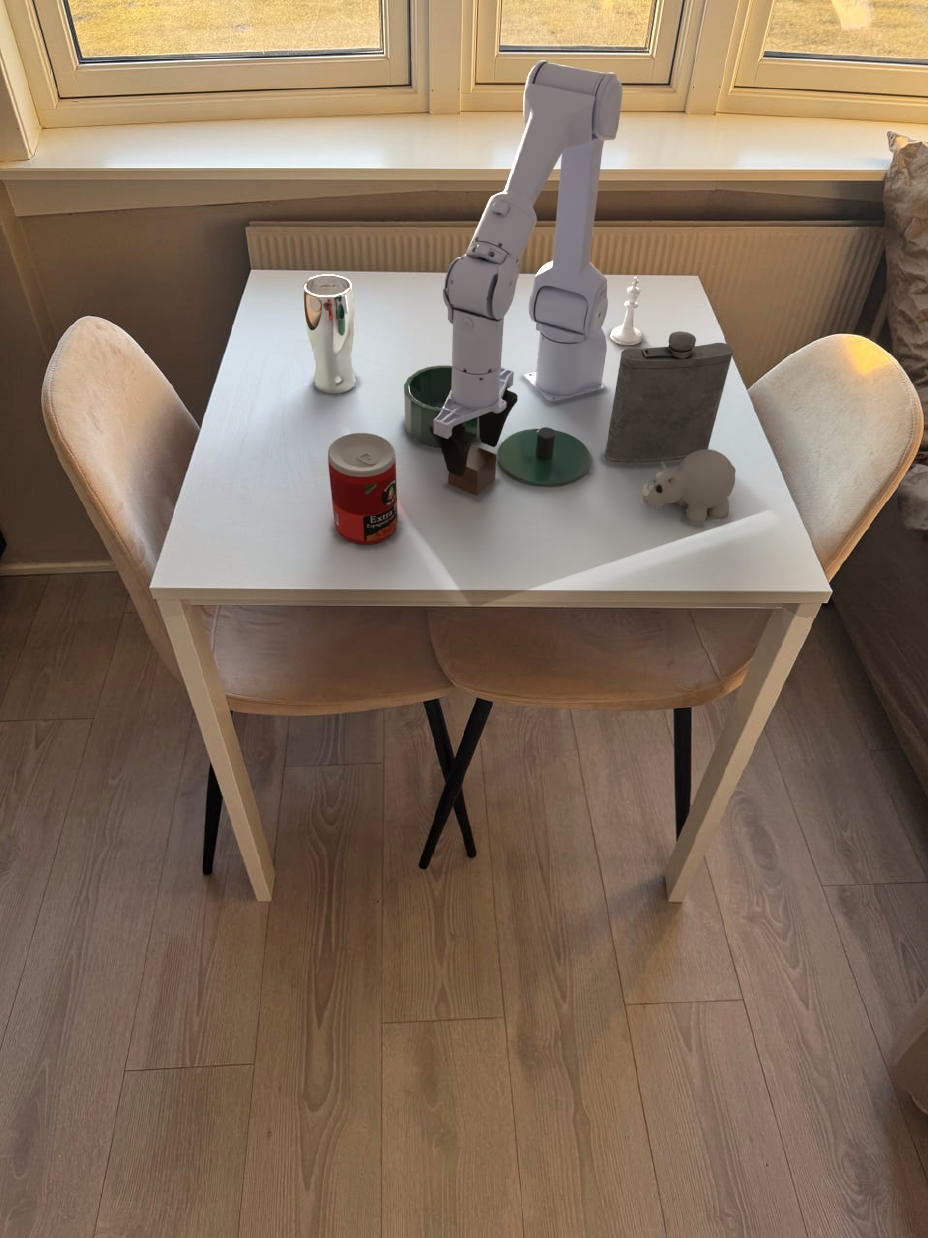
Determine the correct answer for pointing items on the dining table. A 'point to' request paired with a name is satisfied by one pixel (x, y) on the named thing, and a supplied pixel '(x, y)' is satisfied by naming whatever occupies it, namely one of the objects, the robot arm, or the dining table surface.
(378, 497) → the canned food
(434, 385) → the pot
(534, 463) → the lid
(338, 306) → the beer glass
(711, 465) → the toy rhinoceros
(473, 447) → the block
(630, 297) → the chess piece
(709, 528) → the dining table surface
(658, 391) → the flask
